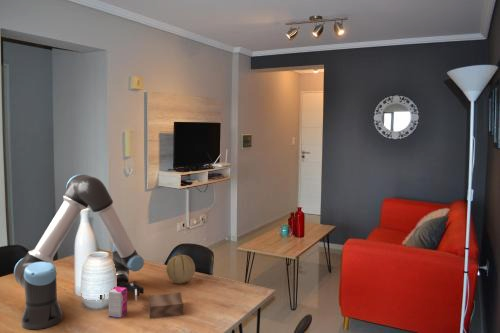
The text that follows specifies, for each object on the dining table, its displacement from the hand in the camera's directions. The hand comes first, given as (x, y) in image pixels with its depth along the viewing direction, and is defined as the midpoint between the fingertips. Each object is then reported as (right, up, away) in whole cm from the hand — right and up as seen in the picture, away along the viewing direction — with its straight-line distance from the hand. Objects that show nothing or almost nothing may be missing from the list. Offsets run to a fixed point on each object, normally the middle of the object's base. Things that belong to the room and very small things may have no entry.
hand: (119, 299), depth 181 cm
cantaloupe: (+20, -3, +36) cm, 42 cm away
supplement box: (-1, -7, 0) cm, 7 cm away
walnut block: (+19, -6, +4) cm, 20 cm away
